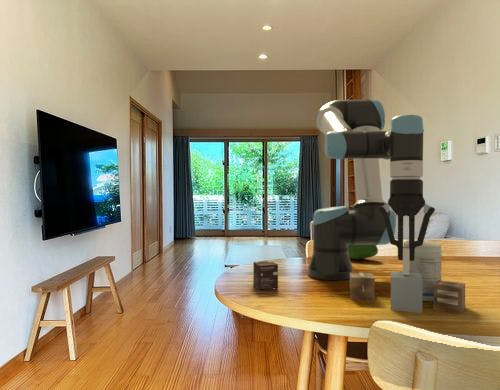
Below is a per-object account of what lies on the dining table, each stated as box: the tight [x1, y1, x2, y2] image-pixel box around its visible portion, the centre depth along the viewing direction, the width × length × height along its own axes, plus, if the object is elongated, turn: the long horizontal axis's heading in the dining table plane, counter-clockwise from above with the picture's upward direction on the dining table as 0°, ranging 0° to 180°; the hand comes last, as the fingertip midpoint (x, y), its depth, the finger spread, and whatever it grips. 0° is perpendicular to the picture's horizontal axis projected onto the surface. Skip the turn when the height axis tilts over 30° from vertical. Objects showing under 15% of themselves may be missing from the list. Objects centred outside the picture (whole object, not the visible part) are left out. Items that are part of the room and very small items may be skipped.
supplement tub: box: [403, 240, 443, 302], centre depth 100 cm, size 10×10×15 cm
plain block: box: [390, 270, 423, 314], centre depth 91 cm, size 7×7×8 cm
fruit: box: [348, 245, 379, 260], centre depth 153 cm, size 15×10×10 cm, turn 47°
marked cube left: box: [349, 271, 376, 302], centre depth 99 cm, size 6×8×6 cm
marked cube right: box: [433, 279, 466, 315], centre depth 90 cm, size 6×6×6 cm
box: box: [252, 260, 279, 291], centre depth 110 cm, size 6×6×7 cm
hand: (405, 273), depth 91 cm, fingers closed
